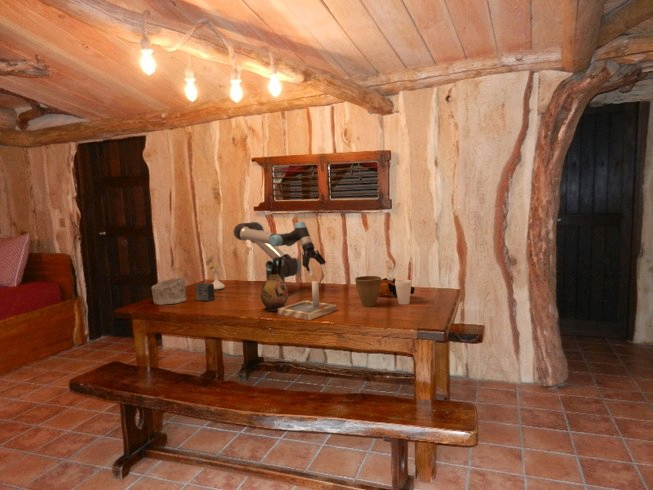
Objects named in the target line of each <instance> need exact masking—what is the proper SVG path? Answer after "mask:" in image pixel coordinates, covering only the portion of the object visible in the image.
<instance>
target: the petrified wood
mask: <svg viewBox="0 0 653 490" xmlns="http://www.w3.org/2000/svg"><path fill="white" fill-rule="evenodd" d="M150 288H151V294H152V300H153V304H154V305H159V306H160V305H162V306H163V305H174V304H178V303H182V302H186V301H187V291H186V281H185V278H184V277H177V278H176V277H174V278H170V279H167V280H162V281H161V282H158V283H156V284H153V285H152V286H151V287H150Z"/></svg>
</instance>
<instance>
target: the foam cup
mask: <svg viewBox="0 0 653 490" xmlns="http://www.w3.org/2000/svg"><path fill="white" fill-rule="evenodd" d="M412 285H413V284H412V280H411V279H396V281H395V286H396V292H397V297H396V298H397V302H398V305H409V304H410V302H411V301H410V300H411V294H410V292H411V287H412Z"/></svg>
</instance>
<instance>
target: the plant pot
mask: <svg viewBox="0 0 653 490" xmlns="http://www.w3.org/2000/svg"><path fill="white" fill-rule="evenodd" d="M381 280H382V277H380V276H379V275H364V276H357V277H355V278H354V281H355V286H356V291H357V294H358V297H359V299H360V300H359V301H360V303H361V305H362V306H363V307H366V308H369V307H375V306H376V305H377V302H378V298H379V296H378V295H379V290H380V284H381Z"/></svg>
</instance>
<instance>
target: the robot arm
mask: <svg viewBox="0 0 653 490" xmlns="http://www.w3.org/2000/svg"><path fill="white" fill-rule="evenodd" d="M293 227H294V230H292V231H290V232H286V233H275V232H269V231H265V229H264V226H263V224H262V223H260V222H258V221H251V222H243V223H242V222H241V223H238V224H237V225H236V226H235V227H234V229H233V236H234V238H236V239H237V240H239V241H247V240H248V241H250V242H251V243H252V244H256V245H257V246H258V247H259V248H260V249H261V250H262V251H263V252H264V253H265V254H266V255H267V256H268V257H269V258H270V260H268V261H271V262H273V259H274V258H275V257H280V258H281V259H282V265H281V270H280V277H281V279H282V280H283V282H284V284H285V285H286V282H285V281H286V280H285V279H286V278H289V277H294V276H296V275H298V274H299V273H300V272H301V268H302V267H301V264H302V266H303V267H304V268H306V271H307V272H308V276H309V277H312V276H314V272H313V269H312V267H311V265H310V260H311V259H313V260H315V261H316V262H317V263H318V264H320V269H321V270H322V273H323V275H327V274H328V271H327V266H326V265H325V264H326V263H327V261H326V260H325V259H324V257H323V256H322V255H321V253H320V251H319V250H315V248H316V247H315V244H314V243H313V240H312V237H311V235H310V232H309V229H308V226H307V225H306V222H304V221H298V222H296V223H295V224H294V226H293ZM297 242H299V244H300V246H301V248H302V252H301V255H302V257H301V261H302V263H301V262H300V260H299V259H298V258H297V257H292V256H291V255H290V254H288V253H284V252H283V251H282V250H281V249H280V248H279V247H282V246H286V247H291V246H293V245H295V244H296V243H297ZM276 264H277V266H278V261H276ZM271 271H272V270H271V269H270V268H267V267H266V266H265V273H266V275H265V277H266V279H267V278H268V277H269V276H270V274H271Z"/></svg>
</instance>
